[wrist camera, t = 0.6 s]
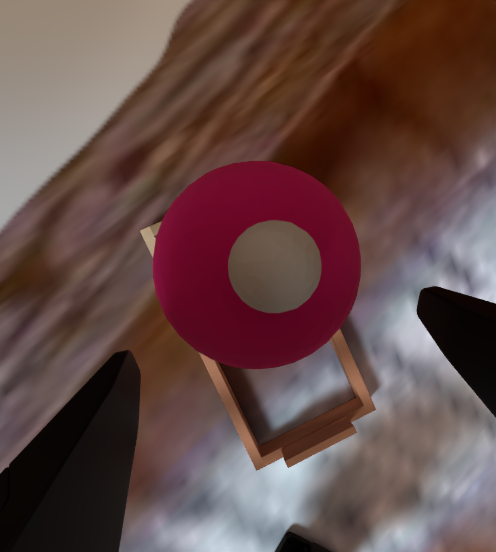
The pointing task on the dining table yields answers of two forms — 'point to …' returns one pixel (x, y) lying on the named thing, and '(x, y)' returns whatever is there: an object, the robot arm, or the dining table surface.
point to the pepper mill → (256, 265)
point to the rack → (305, 436)
